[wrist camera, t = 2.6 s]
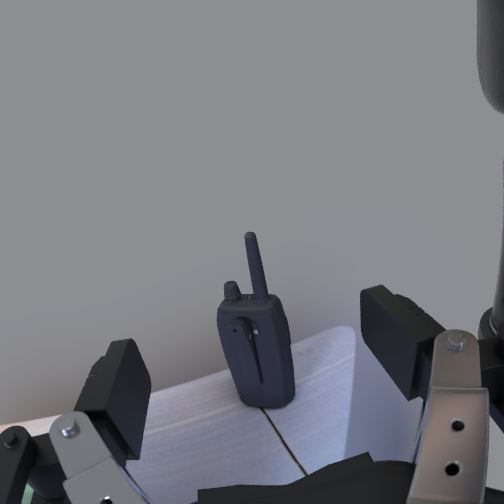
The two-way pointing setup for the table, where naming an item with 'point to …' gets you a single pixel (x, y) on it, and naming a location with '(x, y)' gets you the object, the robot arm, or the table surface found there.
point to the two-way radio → (256, 338)
